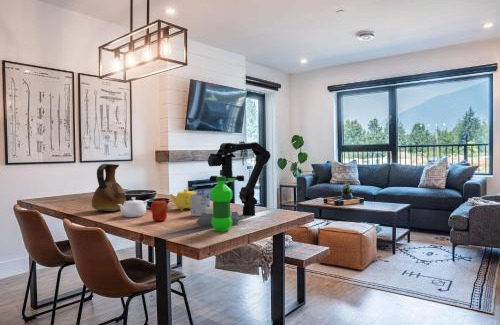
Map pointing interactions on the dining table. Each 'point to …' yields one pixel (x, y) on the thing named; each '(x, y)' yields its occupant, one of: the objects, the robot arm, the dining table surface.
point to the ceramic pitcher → (108, 190)
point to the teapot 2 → (183, 199)
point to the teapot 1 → (133, 208)
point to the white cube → (209, 210)
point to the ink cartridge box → (199, 203)
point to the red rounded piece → (159, 210)
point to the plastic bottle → (221, 205)
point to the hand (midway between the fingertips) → (227, 194)
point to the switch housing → (206, 218)
